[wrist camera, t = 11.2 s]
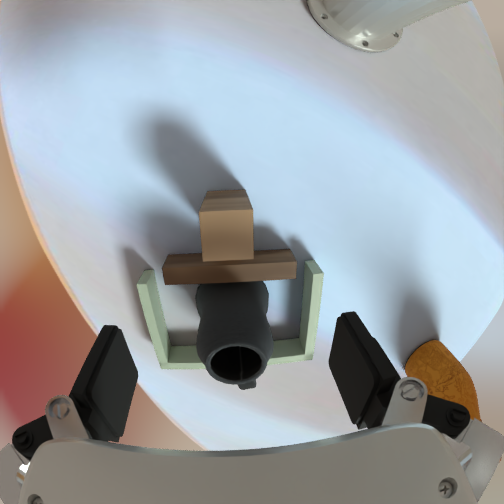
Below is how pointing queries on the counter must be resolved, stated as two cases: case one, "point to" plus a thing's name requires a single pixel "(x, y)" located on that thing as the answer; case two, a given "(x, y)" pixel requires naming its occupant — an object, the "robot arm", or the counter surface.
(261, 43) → the counter surface
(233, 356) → the mug
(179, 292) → the counter surface
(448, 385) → the wine bottle
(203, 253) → the wooden cross block
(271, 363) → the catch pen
